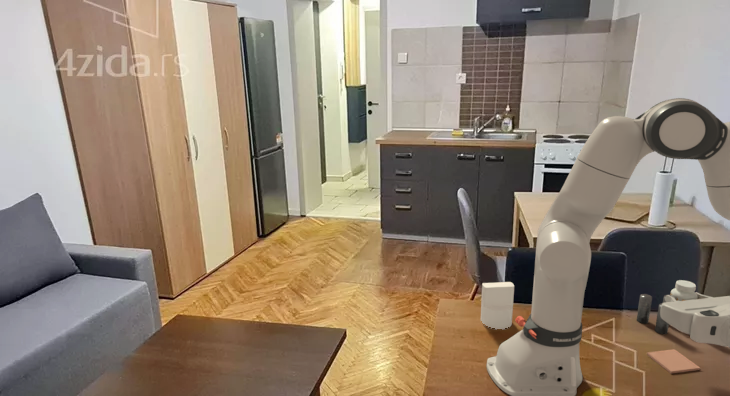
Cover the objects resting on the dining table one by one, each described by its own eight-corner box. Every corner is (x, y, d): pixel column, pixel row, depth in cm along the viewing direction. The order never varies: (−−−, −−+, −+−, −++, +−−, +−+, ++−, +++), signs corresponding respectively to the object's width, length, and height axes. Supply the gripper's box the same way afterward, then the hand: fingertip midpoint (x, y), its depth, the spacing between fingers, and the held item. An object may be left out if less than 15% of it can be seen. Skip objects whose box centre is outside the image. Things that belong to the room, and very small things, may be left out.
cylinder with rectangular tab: (505, 313, 141) (507, 277, 138) (516, 328, 132) (519, 291, 129) (476, 314, 141) (478, 278, 137) (485, 330, 132) (487, 292, 129)
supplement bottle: (663, 318, 113) (668, 283, 110) (671, 311, 116) (677, 276, 114) (688, 327, 109) (694, 290, 106) (696, 319, 112) (702, 284, 110)
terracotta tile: (670, 373, 111) (671, 371, 111) (646, 354, 119) (646, 352, 119) (699, 369, 112) (700, 367, 112) (673, 351, 120) (674, 349, 120)
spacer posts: (665, 341, 124) (670, 314, 122) (634, 318, 136) (637, 294, 134) (704, 336, 126) (709, 310, 124) (670, 315, 138) (674, 290, 135)
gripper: (776, 307, 99) (719, 280, 112) (693, 316, 96) (645, 288, 110) (770, 333, 101) (715, 304, 114) (688, 343, 98) (641, 311, 111)
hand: (680, 296), depth 112 cm, fingers closed on supplement bottle, 5 cm apart
